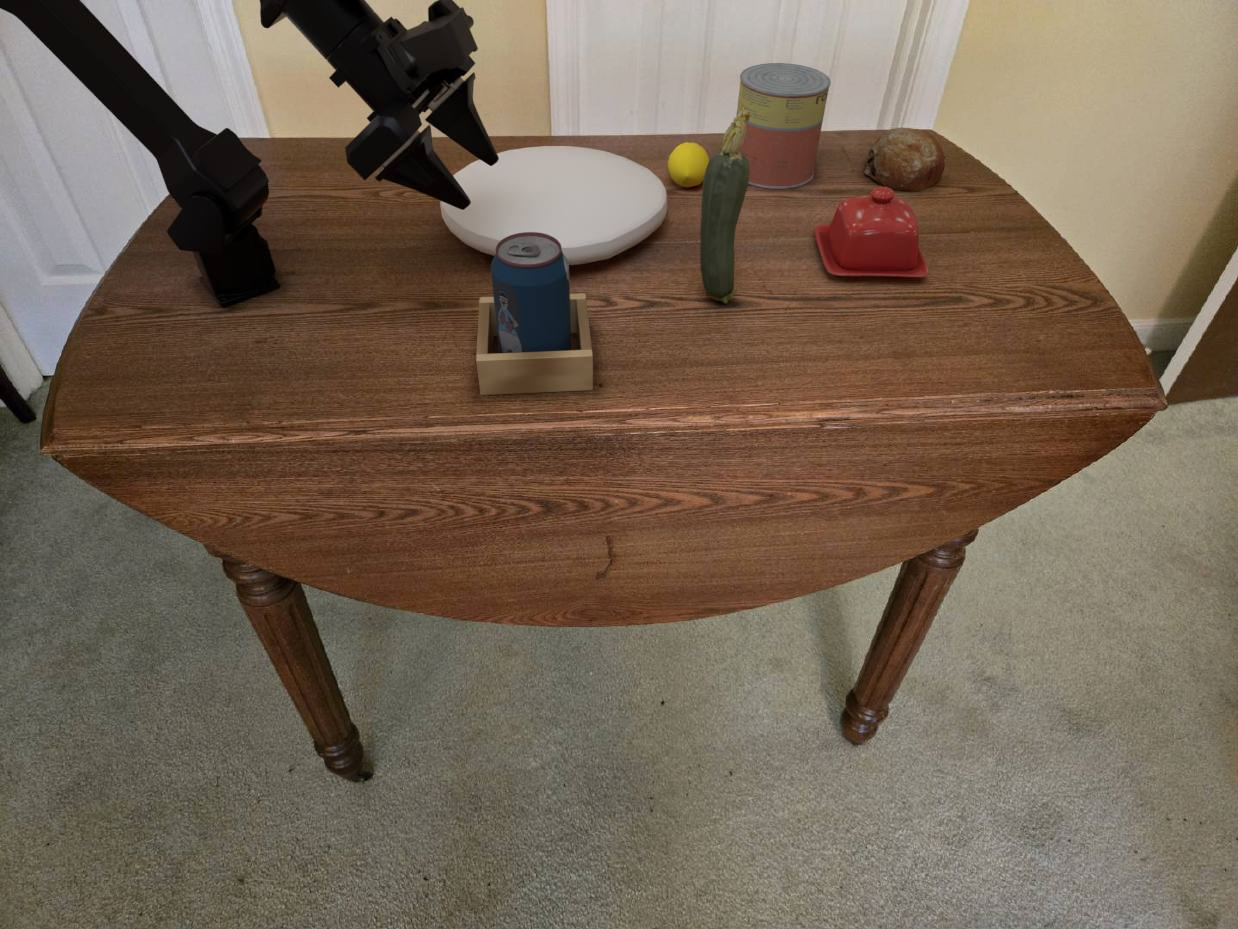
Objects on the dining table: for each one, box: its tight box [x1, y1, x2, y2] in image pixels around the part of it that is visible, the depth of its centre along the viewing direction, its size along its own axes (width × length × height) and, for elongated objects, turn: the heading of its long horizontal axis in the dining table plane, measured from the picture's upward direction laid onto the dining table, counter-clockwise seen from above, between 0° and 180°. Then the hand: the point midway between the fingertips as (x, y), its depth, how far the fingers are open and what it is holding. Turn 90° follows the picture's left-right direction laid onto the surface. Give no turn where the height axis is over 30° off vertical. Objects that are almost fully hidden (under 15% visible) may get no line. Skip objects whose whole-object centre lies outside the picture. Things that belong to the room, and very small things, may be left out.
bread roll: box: [864, 127, 946, 192], centre depth 109 cm, size 10×10×8 cm
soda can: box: [490, 232, 572, 353], centre depth 75 cm, size 7×7×12 cm
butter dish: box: [813, 186, 929, 278], centre depth 91 cm, size 12×12×8 cm
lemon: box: [667, 141, 710, 189], centre depth 106 cm, size 7×5×5 cm
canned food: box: [736, 62, 832, 190], centre depth 107 cm, size 11×11×12 cm
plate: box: [439, 145, 668, 266], centre depth 97 cm, size 28×6×27 cm
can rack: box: [475, 292, 594, 396], centre depth 78 cm, size 10×10×4 cm
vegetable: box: [699, 107, 751, 304], centre depth 81 cm, size 4×4×20 cm
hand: (482, 183), depth 75 cm, fingers open, 9 cm apart
